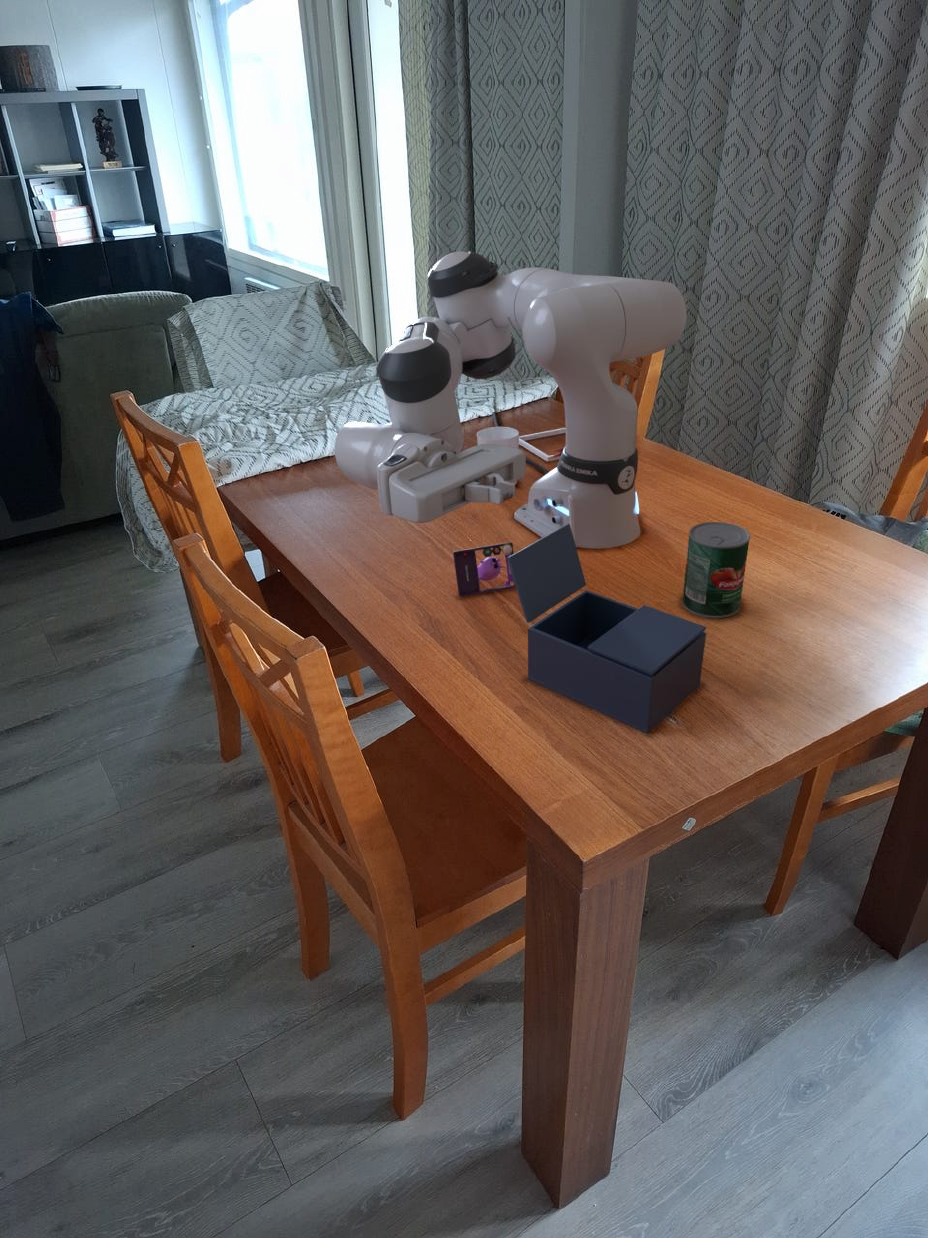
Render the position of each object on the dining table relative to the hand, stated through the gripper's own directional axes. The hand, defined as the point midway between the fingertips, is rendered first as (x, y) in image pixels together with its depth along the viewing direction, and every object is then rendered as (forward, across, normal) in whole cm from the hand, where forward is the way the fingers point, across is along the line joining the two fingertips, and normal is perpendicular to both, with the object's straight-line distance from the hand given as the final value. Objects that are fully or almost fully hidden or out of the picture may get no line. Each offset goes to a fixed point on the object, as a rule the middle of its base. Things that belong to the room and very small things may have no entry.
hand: (507, 494), depth 100 cm
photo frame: (-40, -68, -21) cm, 81 cm away
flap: (+6, 0, -9) cm, 11 cm away
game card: (-13, -9, -21) cm, 26 cm away
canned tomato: (+16, -24, -21) cm, 36 cm away
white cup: (-37, -42, -21) cm, 60 cm away
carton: (+16, 0, -21) cm, 26 cm away
